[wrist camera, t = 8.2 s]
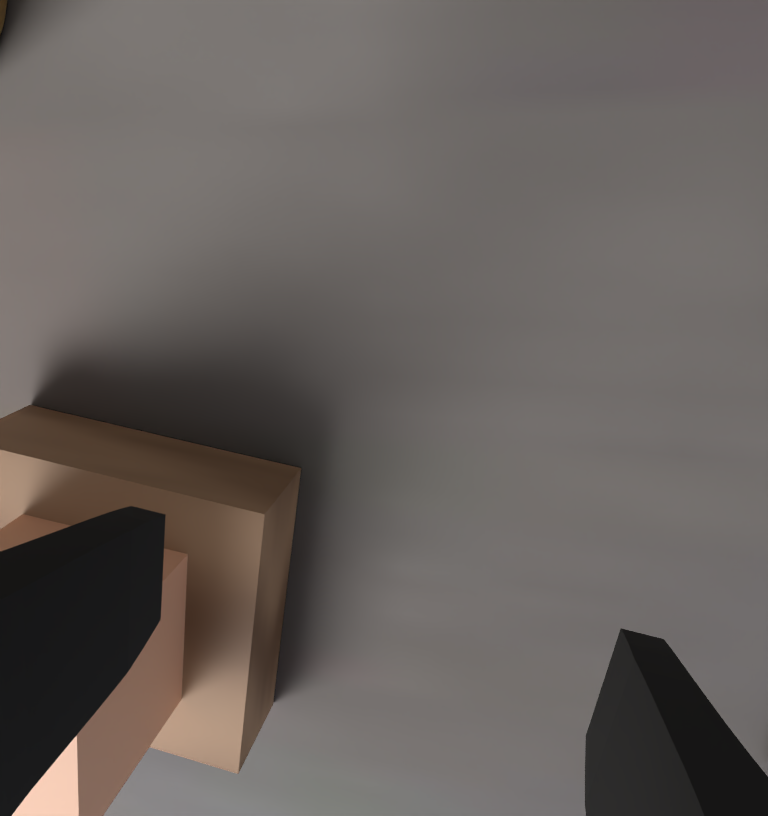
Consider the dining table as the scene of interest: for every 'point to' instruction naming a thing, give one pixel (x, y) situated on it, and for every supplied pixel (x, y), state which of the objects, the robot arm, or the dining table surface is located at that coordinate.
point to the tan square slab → (184, 532)
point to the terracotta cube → (114, 702)
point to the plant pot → (2, 13)
